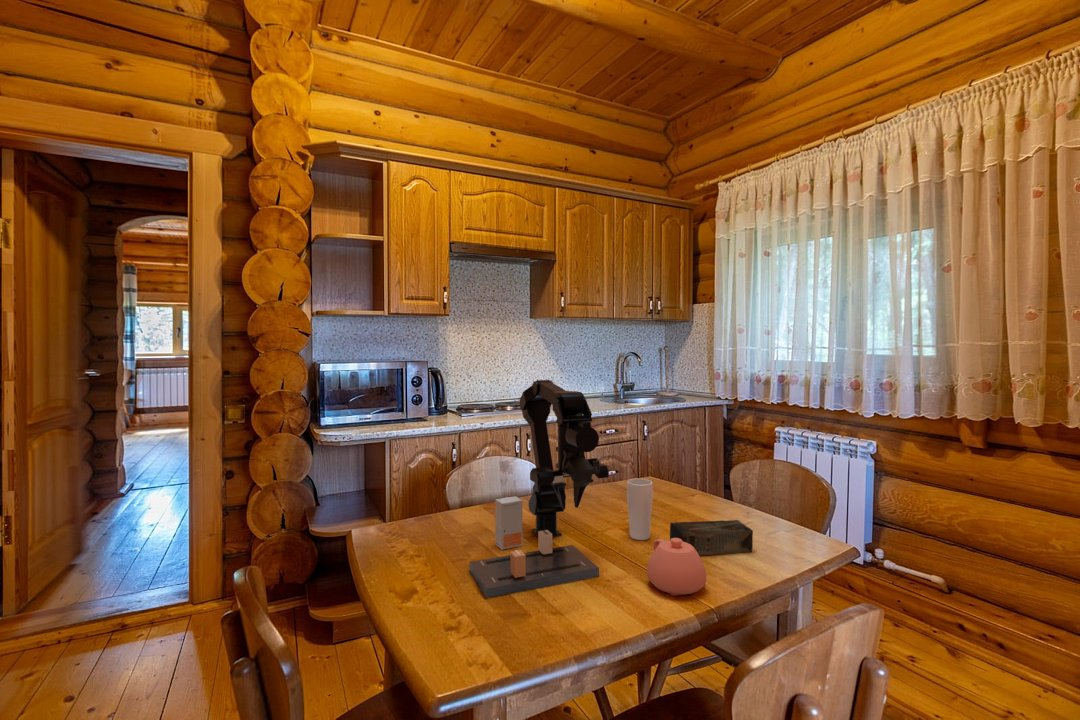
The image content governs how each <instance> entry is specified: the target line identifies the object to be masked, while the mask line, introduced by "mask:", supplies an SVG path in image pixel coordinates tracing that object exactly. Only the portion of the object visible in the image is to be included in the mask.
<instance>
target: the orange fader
mask: <svg viewBox="0 0 1080 720" xmlns="http://www.w3.org/2000/svg"><path fill="white" fill-rule="evenodd" d="M524 553H525V552H523V551H522V550H521V549H519V550H516V549H515V550H513V551H510V554H509V555H510V565H511V573H512V575H513V576H514V577H515V578H517V577H523V576H526V555H525V554H524Z"/></svg>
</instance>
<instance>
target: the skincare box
mask: <svg viewBox="0 0 1080 720" xmlns="http://www.w3.org/2000/svg"><path fill="white" fill-rule="evenodd" d="M523 505H524V504H523V500H522V499H521V498H519V497H518V496H517V495H515V496H509V497H507V496H506V497H503V498H496V499H495V508H494V509H495V511H494V513H495V514H494V515H495V518H494V519H495V521H494V522H495V525H494V527H495V528H494V530H495V533H494V535H495V536H494V538H495V539H494V541H495V542H494V544H495V546H496V547H497V548H498V549H500V550H501V551H503V550H506V549H512V548H519V547H523Z"/></svg>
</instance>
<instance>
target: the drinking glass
mask: <svg viewBox="0 0 1080 720" xmlns="http://www.w3.org/2000/svg"><path fill="white" fill-rule="evenodd" d="M653 490H654V487H653V481H652V480H650V479H647V478H631V479H628V480H627V483H626V501H627V512H628V513H627V514H628V524H629V525H628V526H629V536H630V538H631V539H632V540H636V541H646V540H649V539H650V536H651V522H652V521H651V520H652V510H653V498H654V497H653V495H654V493H653Z"/></svg>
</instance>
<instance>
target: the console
mask: <svg viewBox="0 0 1080 720" xmlns="http://www.w3.org/2000/svg"><path fill="white" fill-rule="evenodd" d="M523 553H524V554H525V555H526V576H523V577H517V578H515V577H514V576H513V575H512V573H511V565H510V554H509V555H504V556H503V555H501V556H496V557H490V558H486V559H479V560H473V561H469V563H468V564H469V566H468V567H469V572H470V573H471V576H472V577H473V579H474V581H475V582H476V584H477V585H478V588H479V589H480V591H481V592H482V593H483V596H484V597H485V599H489V598H490V599H491V598H494V597H499V596H504V595H505V596H506V595H510V594H516V593H521V592H527V591H529V590H530V591H531V590H535V589H540V588H545V587H552V586H556V585H561V584H562V585H563V584H568V583H572V582H578V581H582V580H588V579H594V578H598V577H600V567H599V566H597V564H595V563H594V562H593V561H592V560H591V559H589V558H588V557H587V556H586V555H585V554H583V552H581V550H579V549H578V548H576V547H575V546H574V545H573V544H570V545H564V546H558V547H552V553H549V554H542V553H541V552H540V551H539V550H533V551H527V552H523Z"/></svg>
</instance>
